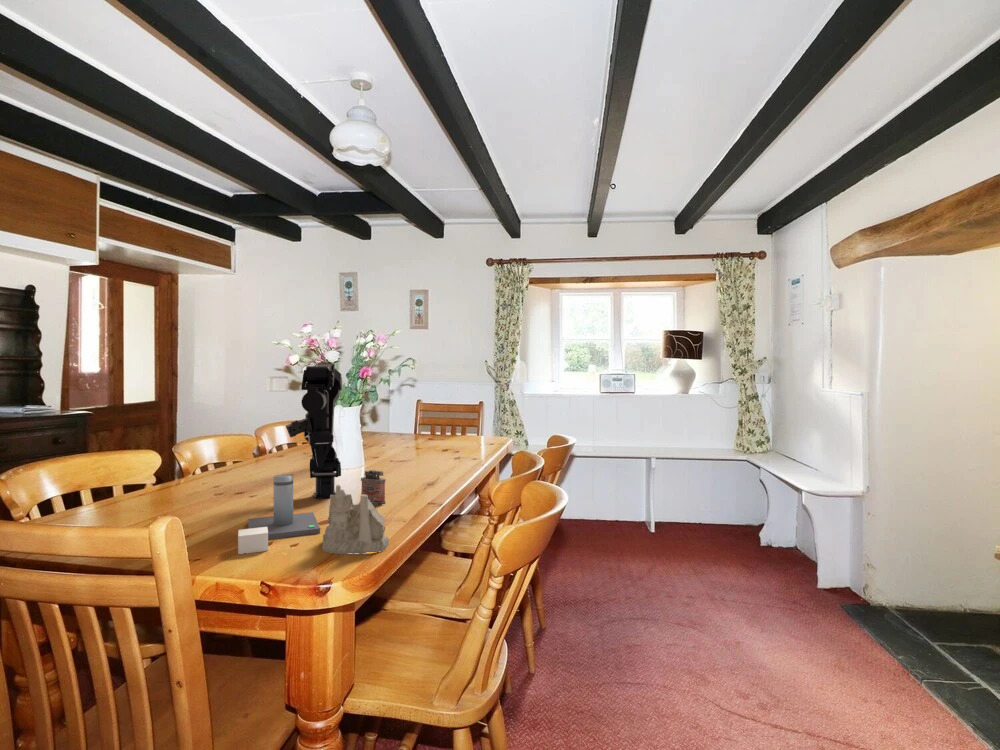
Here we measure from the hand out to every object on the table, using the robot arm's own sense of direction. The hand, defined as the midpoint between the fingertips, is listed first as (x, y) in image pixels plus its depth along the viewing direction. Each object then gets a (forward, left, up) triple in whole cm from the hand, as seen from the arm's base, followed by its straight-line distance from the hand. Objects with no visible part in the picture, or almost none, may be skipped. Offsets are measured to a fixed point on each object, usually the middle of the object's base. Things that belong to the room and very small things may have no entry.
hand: (317, 464), depth 153 cm
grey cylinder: (+15, -10, -12) cm, 21 cm away
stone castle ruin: (+34, +5, -13) cm, 37 cm away
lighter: (-1, +16, -13) cm, 21 cm away
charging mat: (+19, -11, -13) cm, 26 cm away
